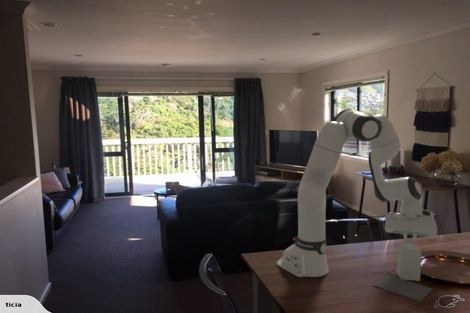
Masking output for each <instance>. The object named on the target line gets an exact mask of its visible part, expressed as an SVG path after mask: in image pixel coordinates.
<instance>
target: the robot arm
mask: <svg viewBox="0 0 470 313" xmlns="http://www.w3.org/2000/svg"><path fill="white" fill-rule="evenodd" d="M349 139H354V140H356V141H360V142H369V144H370V147H371V151H370V152H369V153H368V158H367V160H368V165H369V171H370V175H371V179H372V183H373V191H374V196H375V197H376V199H378V200H379V201H380V202H381V203H388V202H393V201H401V204H400V208H399V210H400V212H391V211H390V212H388V213H386V214H385V215H384V220H385V224H384V231H385V232H386V233H391V234H392V233H393V234H400V235H403V238H404V240H405V243H411V244H414V241H415V240H416V239H417V237H418V236H419V237H423V238H432V239H433V238H434V239H435V238H437V236H438V226H437V221H436V220H435V215H434V213H433V212H432V211H429V210H426V209H424V208H423V206H422V205H423V201H424V195H423V186H422V184H421V183H420V182H419V181H418V180H417V179H416V178H414V177H412V176H405V177H402V176H401V177H398V178H397V177H396V178H389V179H388V178H387V179H386V178H384V176H383V175H384V174H383V169H382V165H383V164H385V163H386V162H388V161H391V160H392V159H394V158H395V157H396V156H397V155H398V154H399V152H400V150H401V142H400V138H399V136H398V133H397V131H396V129H395V127H394V126H393V123H392V122H391V121H390V119H389V118H388V117H387V116H386V115H384V114H374V115H372V114H367V113H365V112H364V111H361V110H356V109H355V110H354V109H343V110H341V111H339V112H338V113H337V114H336V115H335V117H334V118H333V119H332V121H327V122H325V123H324V124H323V126H322V128H321V129H320V132H319V133H318V135H317V138H316V140H315V142H314V145H313V146H312V147H313V148H312V150H311V153H310V156H309V159H308V162H307V164H306V167H305V169H304V172H303V174H302V177H301V179H300V182H299V185H298V189H297V190H298V191H297V216H298V217H297V225H298V226H297V228H298V229H297V230H298V231H297V233H298V235H296V236H295V237H293V238H292V241H294V243H293V244H292V245H290V246H289V247H287V248H285V250H284V251H283V253H282V257H281V258H280V259H278V261H276V266H278V267H280V268H281V269H283V270H285V271H287V272H288V273H291V274H292V275H294V276H296V277H297V278H298V277H299V278H303V277H305V278H306V277H308V278H309V277H310V278H318V277H323V276H325V275H326V276H327V275H328V274H329V272H330V269H329V266H328V261H327V255H326V251H327V237H326V210H327V209H326V208H327V193H326V192H327V188H328V186H329V183H330V181H331V179H332V177H333V174H334V173H335V171H336V168H337V165H338V162H339V160H340V157H341V155H342V152H343V148H344V146H345V144H346V142H347V141H348V140H349ZM408 235H409V236H412V238H409V237H408Z"/></svg>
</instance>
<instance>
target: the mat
mask: <svg viewBox="0 0 470 313" xmlns="http://www.w3.org/2000/svg"><path fill="white" fill-rule="evenodd" d="M373 286H374V287H377V288H379V289H382V290H385V291H388V292H391V293H394V294H397V295H400V296H402V297H405V298H408V299H411V300H414V301H417V302H419V303H421V302H422V301H423V300H424V299H426V298H427V296H428V295H429V294H430V293H431V292H432V291H433V290H434V289H433V288H431V287H428V286H425V285H421V284H419V283H415V282H412V281H410V280H403V279H400V277H397V276H393V275H390V274H387V275H385V276H384V277H382V278H381V279H379V280H378V281H377V282H375V283H374V284H373Z"/></svg>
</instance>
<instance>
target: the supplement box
mask: <svg viewBox="0 0 470 313" xmlns="http://www.w3.org/2000/svg"><path fill="white" fill-rule="evenodd" d="M396 244H397V245H396V246H397V247H396V274H397V275H398V278H400V279H403V280H406V281H417V282H420V281H421V271H422V270H421V269H422V268H421V267H422V249H421V248H420V247H419V245H418V244H417V243H413V244H411V243H406V242H397V243H396Z"/></svg>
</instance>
